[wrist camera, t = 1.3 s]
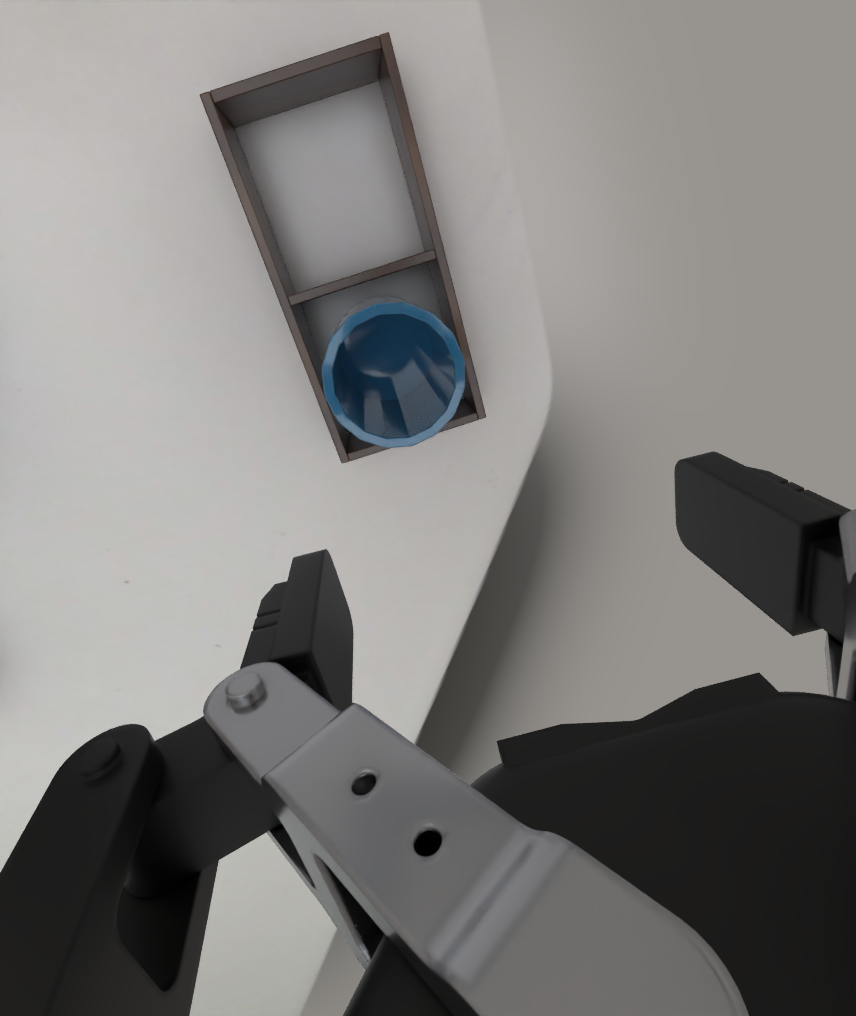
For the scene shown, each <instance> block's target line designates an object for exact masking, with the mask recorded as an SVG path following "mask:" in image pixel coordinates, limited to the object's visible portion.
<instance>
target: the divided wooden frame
mask: <svg viewBox="0 0 856 1016" xmlns="http://www.w3.org/2000/svg"><path fill="white" fill-rule="evenodd" d="M378 80H379V81H380V85H381V89H382V93H383V96H384V100H385V104H386V108H387V111H388V115H389V119H390V123H391V126H392V130H393V134H394V138H395V141H396V145H397V149H398V153H399V156H400V160H401V164H402V168H403V171H404V175H405V179H406V183H407V186H408V190H409V194H410V198H411V201H412V205H413V209H414V212H415V216H416V220H417V224H418V227H419V231H420V235H421V239H422V242H423V246H424V250H425V252H423V253H420V254H417V255H414V256H410V257H407V258H404V259H401V260H398V261H395V262H392V263H389V264H386V265H383V266H380V267H377V268H374V269H370V270H367V271H364V272H361V273H358V274H355V275H352V276H349V277H346V278H343V279H340V280H337V281H334V282H331V283H327V284H324V285H321V286H318V287H315V288H312V289H309V290H306V291H303V292H300V293H297V294H296V293H295V290H294V288H293V285H292V282H291V279H290V277H289V274H288V271H287V269H286V266H285V263H284V261H283V258H282V255H281V253H280V250H279V247H278V244H277V242H276V239H275V236H274V234H273V231H272V228H271V226H270V223H269V220H268V218H267V215H266V212H265V209H264V207H263V204H262V201H261V199H260V196H259V193H258V191H257V188H256V185H255V183H254V180H253V177H252V175H251V172H250V169H249V166H248V164H247V161H246V158H245V156H244V153H243V150H242V148H241V145H240V142H239V140H238V137H237V134H236V131H235V129H234V127H238V126H241V125H244V124H247V123H250V122H253V121H256V120H259V119H262V118H265V117H268V116H271V115H274V114H277V113H281V112H284V111H287V110H290V109H293V108H296V107H299V106H302V105H305V104H308V103H311V102H314V101H317V100H320V99H323V98H326V97H329V96H332V95H335V94H338V93H341V92H344V91H347V90H350V89H353V88H357V87H360V86H363V85H366V84H369V83H372V82H375V81H378ZM200 98H201V100H202V103H203V105H204V108H205V111H206V113H207V116H208V118H209V121H210V124H211V126H212V129H213V131H214V134H215V136H216V139H217V142H218V144H219V147H220V149H221V152H222V155H223V157H224V160H225V162H226V165H227V168H228V170H229V173H230V175H231V178H232V180H233V183H234V186H235V188H236V191H237V193H238V196H239V199H240V201H241V204H242V206H243V209H244V212H245V214H246V217H247V219H248V222H249V225H250V227H251V230H252V232H253V235H254V237H255V240H256V243H257V245H258V248H259V250H260V253H261V256H262V258H263V261H264V263H265V266H266V269H267V271H268V274H269V276H270V279H271V281H272V284H273V287H274V289H275V292H276V294H277V297H278V300H279V302H280V305H281V307H282V310H283V313H284V315H285V318H286V320H287V323H288V325H289V328H290V331H291V333H292V336H293V338H294V341H295V344H296V346H297V349H298V351H299V354H300V357H301V359H302V362H303V364H304V367H305V369H306V372H307V375H308V377H309V380H310V382H311V385H312V388H313V390H314V393H315V395H316V398H317V401H318V403H319V406H320V408H321V411H322V413H323V416H324V419H325V421H326V424H327V426H328V429H329V432H330V434H331V437H332V439H333V442H334V445H335V447H336V450H337V452H338V455H339V457H340V460H341V463H346V462H349V460H350V461H352V460H355V459H358V458H361V457H364V456H367V455H371V454H374V453H377V452H380V451H383V450H386V449H389V448H386V447H385V448H384V447H381V446H378V445H375V444H372V443H368V442H365V441H362V440H360V439H358V438H357V437H356V436H355V435H353V434H350V435H348V433H347V430H346V428H345V427H344V426H342V425H341V424H340V423H339V422H338V421H337V419H336V417H335V415H334V413H333V412H332V410H331V408H330V406H329V404H328V402H327V401H326V399H325V396H324V387H323V379H322V370H321V369H322V363H321V360H320V357H319V355H318V352H317V349H316V347H315V344H314V341H313V339H312V336H311V333H310V331H309V328H308V325H307V322H306V320H305V317H304V314H303V312H302V309H301V306H300V304H299V303H302V302H305V301H308V300H311V299H314V298H317V297H321V296H324V295H327V294H330V293H333V292H336V291H339V290H342V289H345V288H348V287H351V286H354V285H357V284H361V283H364V282H367V281H370V280H373V279H376V278H379V277H382V276H385V275H388V274H391V273H394V272H397V271H400V270H404V269H407V268H410V267H413V266H416V265H419V264H422V263H425V262H428V265H429V269H430V272H431V276H432V280H433V284H434V287H435V291H436V295H437V299H438V302H439V306H440V310H441V314H442V317H443V321H444V325H445V326H446V327H447V328H448V329H449V330H450V331H451V332H452V333H453V334H454V336H455V338H456V341H457V343H458V345H459V348H460V350H461V353H462V355H463V358H464V361H465V388H464V392H463V396H464V398H462V399H461V400H460V403H459V405H458V408H457V410H456V413H455V414H454V416H453V417H452V418H451V419H450V420H449V422H448V423H447V424H446V425H445V426H444V427H443V428H442V429H441V430H440V431H439V432H442V431H445V430H448V429H451V428H455V427H458V426H461V425H464V424H467V423H470V422H473V421H476V420H478V419H483V418H485V417H486V414H485V410H484V406H483V402H482V398H481V394H480V390H479V386H478V382H477V378H476V374H475V370H474V366H473V363H472V359H471V355H470V351H469V347H468V343H467V339H466V335H465V331H464V327H463V323H462V319H461V315H460V311H459V307H458V303H457V299H456V295H455V291H454V287H453V283H452V280H451V276H450V272H449V268H448V264H447V260H446V256H445V252H444V248H443V244H442V240H441V236H440V232H439V228H438V224H437V220H436V216H435V212H434V208H433V204H432V201H431V197H430V193H429V189H428V185H427V181H426V177H425V173H424V169H423V165H422V161H421V157H420V153H419V149H418V145H417V141H416V137H415V133H414V129H413V125H412V121H411V118H410V114H409V110H408V106H407V102H406V98H405V94H404V90H403V86H402V82H401V78H400V74H399V70H398V66H397V62H396V58H395V54H394V50H393V46H392V42H391V38H390V35H389V32H387V33H384V34H381V35H379V36H375V37H372V38H369V39H366V40H363V41H360V42H357V43H354V44H351V45H348V46H345V47H342V48H339V49H336V50H333V51H329V52H326V53H323V54H320V55H317V56H314V57H311V58H308V59H305V60H302V61H299V62H296V63H293V64H290V65H287V66H284V67H281V68H278V69H275V70H272V71H269V72H266V73H263V74H260V75H257V76H254V77H251V78H248V79H245V80H242V81H239V82H236V83H233V84H229V85H226V86H223V87H220V88H217V89H214V90H211V91H210V92H205V93H202V94H200ZM439 432H438V433H439Z"/></svg>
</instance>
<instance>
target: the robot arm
mask: <svg viewBox="0 0 856 1016" xmlns="http://www.w3.org/2000/svg"><path fill="white" fill-rule="evenodd" d="M675 505H676V506H675V507H676V526H677V531H678V534H679V537H680V539H681V541H682V543H683V544H684V546H685V547H686V548H687V549H688V550H689V551H691V552H692V553H693V554H694V555H696V556H697V557H698V558H699V559H700V560H702V561H703V562H704V563H705V564H706V565H707V566H709V567H710V568H711V569H712V570H714V571H715V572H716V573H717V574H718V575H720V576H721V577H722V578H723V579H725V580H726V581H727V582H728V583H729V584H730V585H732V586H733V587H734V588H735V589H737V590H738V591H739V592H740V593H741V594H743V595H744V596H745V597H746V598H747V599H749V600H750V601H751V602H752V603H754V604H755V605H756V606H757V607H758V608H760V609H761V610H762V611H763V612H764V613H766V614H767V615H768V616H769V617H770V618H772V619H773V620H774V621H775V622H777V623H778V624H779V625H780V626H781V627H783V628H784V629H785V630H786V631H788V632H789V633H790V634H791V635H792V636H795V635H799V634H803V633H807V632H811V631H815V630H818V629H822V628H823V629H824V630H825V631H827V633H826V642H825V656H826V667H827V680H828V691H829V696H827V695H821V694H813V693H805V692H778V691H777V690H776V689H775V688H774V687H773V686H772V685H771V684H770V683H769V682H768V681H767V680H766V679H765V678H764V677H763V676H762V675H761V674H760V673H756V674H752V675H748V676H744V677H740V678H736V679H732V680H729V681H725V682H721V683H717V684H713V685H709V686H706V687H702V688H698V689H695V690H693V691H691V692H689V693H687V694H685V695H684V696H682V697H680V698H678V699H677V700H674V701H673V702H671V703H669V704H667V705H665V706H663V707H662V708H660V709H658V710H656V711H654V712H653V713H651V714H649V715H647V716H645V717H644V718H641V719H638V720H635V721H622V722H601V723H577V724H560V725H557V726H553V727H549V728H545V729H541V730H537V731H534V732H530V733H526V734H522V735H519V736H515V737H511V738H507V739H503V740H499V741H497V744H498V749H499V753H500V757H501V761H502V763H501V764H499V765H497V766H495V767H494V768H492V769H490V770H489V771H487V772H486V773H485V774H483V775H482V776H480V777H479V778H478V779H476V780H475V781H474V782H473V783H472V784H471V785H469V784H467V783H466V782H464V781H463V780H462V779H461V778H459V777H458V776H457V775H455V774H454V773H452V772H451V771H449V770H448V769H447V768H446V767H444V766H443V765H441V764H440V763H439V762H437V761H436V760H435V759H433V758H432V757H431V756H429V755H428V754H426V753H425V752H424V751H422V750H421V749H420V748H418V747H417V746H416V745H414V744H413V743H412V742H410V741H409V740H407V739H406V738H405V737H403V736H402V735H401V734H399V733H398V732H397V731H395V730H394V729H393V728H391V727H390V726H388V725H387V724H386V723H384V722H383V721H382V720H380V719H379V718H378V717H376V716H375V715H373V714H372V713H371V712H369V711H368V710H367V709H365V708H364V707H362V706H361V705H359V704H356V703H352V672H353V625H352V619H351V615H350V611H349V607H348V604H347V601H346V598H345V595H344V593H343V590H342V587H341V584H340V581H339V578H338V575H337V572H336V569H335V567H334V564H333V561H332V558H331V556H330V554H329V552H328V550H327V549H325V550H321V551H317V552H313V553H309V554H305V555H301V556H297V557H294V558H293V560H292V564H291V569H290V573H289V577H288V581H286V582H282V583H278V584H275V585H274V586H273V587H272V588H271V590H270V591H269V592H268V593H267V594H266V595H265V597H264V598H263V599H262V600H261V603H260V607H259V610H258V613H257V618H256V619H255V623H254V626H253V631H252V632H251V636H250V639H249V642H248V645H247V648H246V652H245V655H244V658H243V661H242V664H241V668H240V670H238V671H236V672H234V673H233V674H231V675H229V676H228V677H227V678H225V679H224V680H223V681H222V682H220V683H219V684H218V685H217V686H216V687H215V688H214V689H213V691H212V692H211V693H210V695H209V696H208V698H207V700H206V702H205V705H204V709H203V713H204V716H203V717H201V718H200V719H198V720H196V721H194V722H193V723H191V724H189V725H187V726H185V727H182V728H180V729H178V730H176V731H174V732H172V733H170V734H168V735H166V736H164V737H162V738H160V739H158V740H156V741H154V739H153V738H152V736H151V734H150V733H149V731H148V730H147V728H145V727H144V726H142V725H138V724H128V725H122V726H118V727H115V728H113V729H110V730H108V731H106V732H103V733H101V734H100V735H98V736H96V737H94V738H93V739H91V740H90V741H88V742H87V743H85V744H84V745H83V746H81V747H80V748H79V749H77V750H76V751H75V752H74V753H73V754H72V755H71V756H70V757H69V758H68V759H67V760H66V761H65V762H64V763H63V765H62V766H61V767H60V768H59V770H58V771H57V773H56V774H55V776H54V778H53V779H52V781H51V783H50V785H49V787H48V788H47V790H46V792H45V794H44V796H43V797H42V799H41V801H40V803H39V805H38V806H37V808H36V810H35V812H34V813H33V815H32V817H31V819H30V821H29V822H28V824H27V826H26V828H25V830H24V831H23V833H22V835H21V837H20V839H19V840H18V842H17V844H16V846H15V847H14V849H13V851H12V853H11V855H10V856H9V858H8V860H7V862H6V864H5V865H4V867H3V869H2V871H1V873H0V1016H189V1014H190V1009H191V1004H192V998H193V993H194V988H195V982H196V977H197V972H198V967H199V961H200V956H201V951H202V945H203V940H204V935H205V930H206V924H207V919H208V914H209V909H210V903H211V898H212V893H213V887H214V882H215V877H216V872H217V866H218V861H219V860H220V859H221V858H223V857H225V856H226V855H228V854H230V853H232V852H233V851H235V850H237V849H238V848H240V847H242V846H244V845H245V844H247V843H249V842H250V841H252V840H254V839H256V838H257V837H259V836H261V835H262V834H264V833H266V832H267V834H268V835H269V837H270V838H271V839H272V841H273V842H274V843H275V845H276V846H277V847H278V849H279V850H280V851H281V852H282V854H283V855H284V856H285V858H286V859H287V860H288V862H289V863H290V864H291V866H292V867H293V868H294V870H295V871H296V872H297V873H298V875H299V876H300V877H301V879H302V880H303V881H304V883H305V884H306V885H307V887H308V888H309V889H310V891H311V892H312V893H313V894H314V896H315V897H316V898H317V900H318V901H319V902H320V904H321V905H322V906H323V908H324V909H325V911H326V912H327V914H328V915H329V917H330V918H331V920H332V921H333V923H334V924H335V926H336V928H337V929H338V931H339V932H340V934H341V936H342V937H343V939H344V940H345V942H346V943H347V945H348V946H349V948H350V949H351V951H352V952H353V953H354V955H355V956H356V958H357V959H358V961H359V962H360V963H361V965H362V966H363V968H364V969H365V970H366V971H365V973H364V975H363V977H362V979H361V981H360V983H359V985H358V987H357V989H356V991H355V993H354V995H353V997H352V999H351V1001H350V1003H349V1005H348V1007H347V1009H346V1011H345V1013H344V1015H343V1016H856V510H850V509H848V508H845V507H843V506H841V505H839V504H837V503H835V502H833V501H831V500H829V499H826V498H824V497H822V496H820V495H818V494H816V493H814V492H812V491H809V490H804V488H803V487H801V486H799V485H797V484H795V483H792V482H790V483H788V480H786V479H784V478H782V477H780V476H777V475H775V474H773V473H771V472H769V471H765V470H760V469H756V468H751V467H746V466H744V465H742V464H740V463H738V462H736V461H733V460H732V459H730V458H728V457H725V456H723V455H721V454H719V453H717V452H709V453H705V454H701V455H697V456H693V457H689V458H685V459H682V460H679V461H678V462H677V464H676V466H675Z"/></svg>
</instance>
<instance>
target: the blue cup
mask: <svg viewBox="0 0 856 1016" xmlns="http://www.w3.org/2000/svg"><path fill="white" fill-rule="evenodd" d="M321 370H322V379H323V387H324V396H325V399H326V401H327V402H328V404H329V406H330V408H331V410H332V412H333V413H334V415H335V417H336V419H337V421H338V422H339V423H340V424H341V425H342V426H344V427H345V428H346V429H347V430H348V431H350V432H351V433H352V434H353V435H355V436H356V437H357V438H358V439H360V440H362V441H365V442H368V443H372V444H375V445H378V446H381V447H384V448H385V447H386V448H392V447H407V446H414V445H416V444H418V443H420V442H422V441H424V440H426V439H428V438H430V437H432V436H434V435H436V434H437V433H438V432H439V431H440V430H441V429H442V428H443V427H444V426H445V425H446V424H447V423H448V422H449V420H450V419H451V418H452V417H453V416H454V414H455V413H456V410H457V408H458V405H459V403H460V400H461V398H462V395H463V392H464V388H465V361H464V358H463V355H462V353H461V350H460V348H459V345H458V343H457V341H456V338H455V336H454V334H453V333H452V332H451V331H450V330H449V329H448V328H447V327H446V326H445V325H444V324H443V323H442V322H441V321H440V320H439V319H438V318H437V317H436V316H435V315H434V314H433V313H432V312H429V311H427V310H425V309H423V308H420V307H418V306H416V305H414V304H411V303H409V302H406V301H404V300H401V299H399V298H396V297H372V298H369V299H368V300H365V301H363V302H361V303H359V304H357V305H356V306H354V307H352V308H351V309H350V310H349V311H348V313H347V314H346V315H345V316H344V317H343V319H342V320H341V321H340V322H339V324H338V325H337V327H336V329H335V331H334V333H333V335H332V337H331V339H330V340H329V343H328V347H327V350H326V354H325V357H324V361H323V364H322V369H321Z"/></svg>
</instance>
